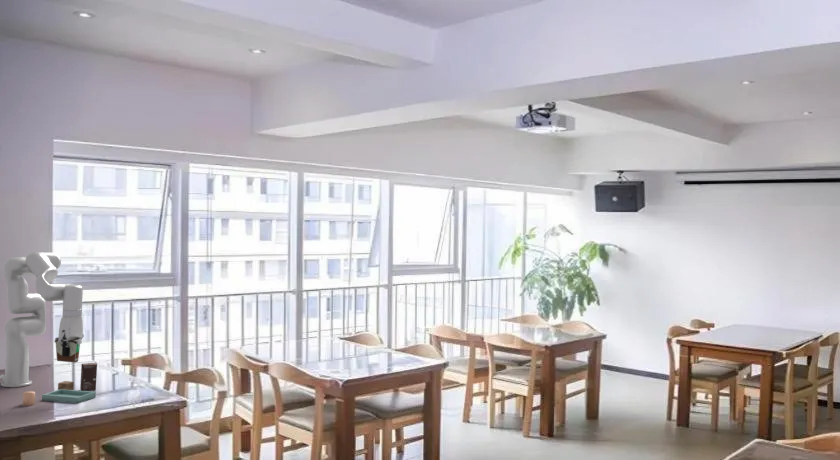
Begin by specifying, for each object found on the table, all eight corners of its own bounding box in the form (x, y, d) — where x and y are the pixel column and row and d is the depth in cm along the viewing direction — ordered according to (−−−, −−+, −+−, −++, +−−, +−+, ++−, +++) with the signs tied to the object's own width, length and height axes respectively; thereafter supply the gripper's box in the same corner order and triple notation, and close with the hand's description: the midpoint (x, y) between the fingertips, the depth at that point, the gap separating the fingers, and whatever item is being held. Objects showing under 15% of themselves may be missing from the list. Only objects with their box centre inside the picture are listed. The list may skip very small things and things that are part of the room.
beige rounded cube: (20, 405, 285) (20, 393, 285) (28, 402, 290) (28, 390, 290) (29, 405, 285) (29, 393, 285) (37, 403, 289) (37, 391, 289)
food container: (88, 360, 301) (88, 337, 301) (77, 363, 295) (78, 339, 295) (64, 357, 304) (65, 335, 304) (54, 360, 298) (54, 337, 298)
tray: (41, 400, 294) (42, 394, 294) (60, 394, 306) (60, 389, 306) (78, 403, 291) (78, 397, 291) (95, 397, 302) (95, 391, 302)
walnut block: (57, 393, 308) (58, 383, 309) (64, 390, 313) (64, 381, 313) (66, 393, 308) (67, 383, 308) (73, 391, 312) (73, 381, 312)
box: (82, 391, 312) (83, 365, 312) (79, 389, 316) (81, 363, 316) (96, 390, 316) (97, 364, 316) (94, 388, 319) (95, 362, 320)
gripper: (77, 311, 308) (76, 351, 308) (50, 315, 291) (48, 357, 291) (92, 312, 307) (91, 352, 306) (66, 316, 290) (64, 359, 289)
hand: (70, 354), depth 299 cm, fingers closed on food container, 5 cm apart
